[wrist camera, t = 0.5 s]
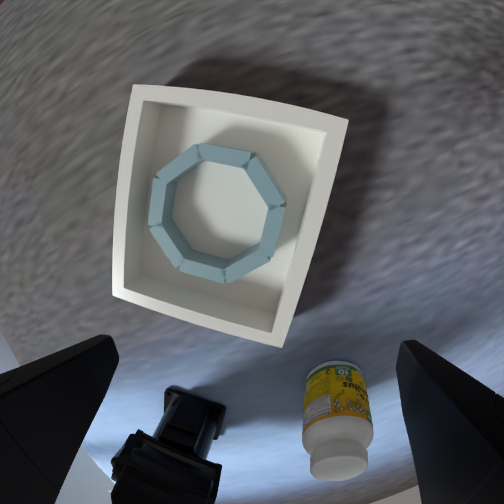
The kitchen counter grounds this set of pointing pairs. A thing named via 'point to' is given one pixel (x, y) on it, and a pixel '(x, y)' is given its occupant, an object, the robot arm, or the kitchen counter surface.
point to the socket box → (221, 206)
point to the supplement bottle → (336, 421)
